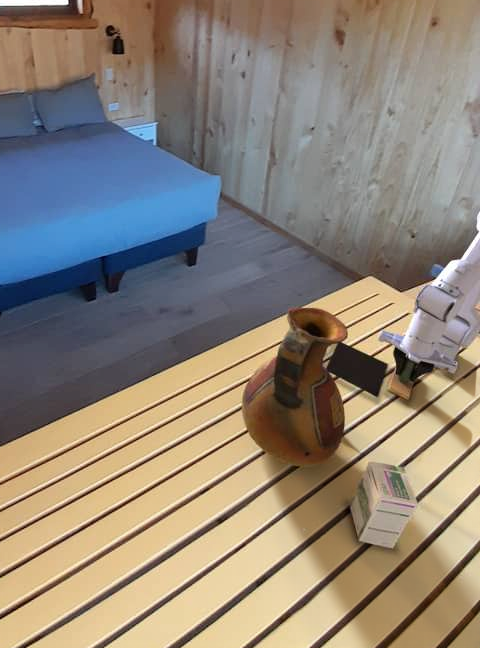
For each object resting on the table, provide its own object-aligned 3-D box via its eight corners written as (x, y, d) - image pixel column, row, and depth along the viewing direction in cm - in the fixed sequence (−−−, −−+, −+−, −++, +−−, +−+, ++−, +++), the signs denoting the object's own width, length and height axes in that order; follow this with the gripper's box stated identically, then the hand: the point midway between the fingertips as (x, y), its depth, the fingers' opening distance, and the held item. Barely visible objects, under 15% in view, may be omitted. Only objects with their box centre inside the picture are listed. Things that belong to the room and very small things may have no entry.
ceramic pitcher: (348, 425, 88) (388, 326, 74) (315, 502, 75) (355, 399, 62) (264, 374, 100) (284, 280, 86) (222, 433, 87) (239, 333, 74)
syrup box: (394, 549, 69) (422, 505, 62) (356, 541, 70) (380, 496, 63) (381, 511, 74) (406, 466, 67) (347, 504, 75) (368, 459, 68)
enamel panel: (337, 344, 108) (338, 340, 107) (386, 367, 101) (387, 363, 101) (323, 374, 100) (325, 370, 99) (375, 401, 93) (377, 397, 93)
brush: (394, 369, 101) (406, 342, 96) (413, 378, 98) (426, 351, 94) (385, 394, 95) (398, 366, 90) (405, 404, 92) (419, 376, 88)
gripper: (382, 328, 90) (366, 369, 96) (463, 362, 82) (440, 405, 88) (388, 310, 95) (373, 351, 101) (466, 341, 86) (443, 383, 93)
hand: (404, 375), depth 95 cm, fingers closed on brush, 2 cm apart
